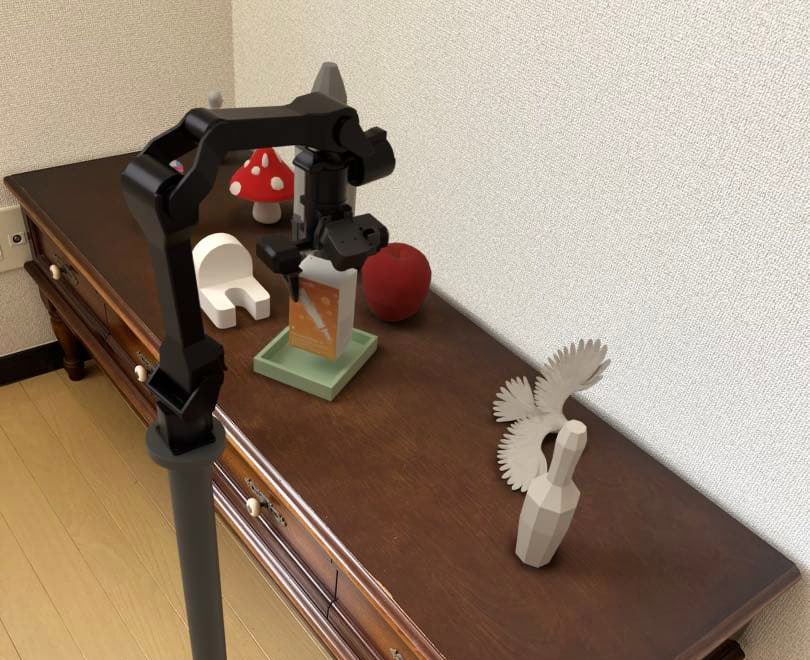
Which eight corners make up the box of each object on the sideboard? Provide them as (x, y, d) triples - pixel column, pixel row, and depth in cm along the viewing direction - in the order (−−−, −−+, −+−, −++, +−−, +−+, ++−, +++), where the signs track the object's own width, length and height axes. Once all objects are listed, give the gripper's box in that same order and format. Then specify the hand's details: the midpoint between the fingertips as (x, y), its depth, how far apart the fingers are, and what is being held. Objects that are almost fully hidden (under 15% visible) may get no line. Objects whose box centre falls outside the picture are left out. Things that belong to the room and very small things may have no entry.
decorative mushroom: (245, 244, 154) (243, 167, 143) (218, 210, 162) (214, 135, 152) (313, 231, 160) (316, 156, 149) (284, 199, 168) (284, 126, 157)
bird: (472, 481, 127) (525, 510, 114) (433, 395, 120) (484, 415, 107) (575, 413, 132) (637, 433, 119) (542, 326, 125) (604, 337, 112)
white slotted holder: (219, 330, 134) (215, 272, 126) (175, 275, 144) (170, 219, 136) (272, 315, 138) (272, 259, 131) (226, 264, 148) (223, 208, 141)
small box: (287, 346, 126) (288, 272, 117) (307, 325, 130) (308, 253, 121) (335, 362, 124) (339, 288, 115) (353, 341, 129) (358, 268, 120)
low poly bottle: (500, 553, 106) (537, 426, 90) (526, 526, 109) (566, 400, 94) (541, 580, 103) (586, 454, 88) (566, 552, 107) (614, 427, 92)
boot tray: (331, 401, 124) (331, 388, 122) (253, 371, 127) (253, 358, 125) (376, 349, 134) (378, 336, 133) (304, 322, 138) (304, 309, 136)
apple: (407, 343, 136) (416, 273, 127) (345, 321, 139) (350, 251, 130) (436, 309, 145) (446, 241, 135) (377, 289, 147) (383, 221, 138)
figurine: (238, 168, 176) (236, 96, 165) (222, 172, 174) (219, 100, 163) (214, 151, 180) (210, 80, 170) (198, 155, 178) (193, 84, 168)
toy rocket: (359, 270, 151) (373, 73, 127) (320, 283, 147) (328, 81, 123) (323, 242, 157) (331, 48, 133) (285, 254, 153) (286, 55, 128)
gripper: (294, 236, 101) (292, 339, 112) (416, 208, 110) (404, 306, 121) (252, 197, 108) (255, 298, 118) (372, 173, 116) (364, 269, 127)
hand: (322, 293), depth 121 cm, fingers closed on small box, 9 cm apart
